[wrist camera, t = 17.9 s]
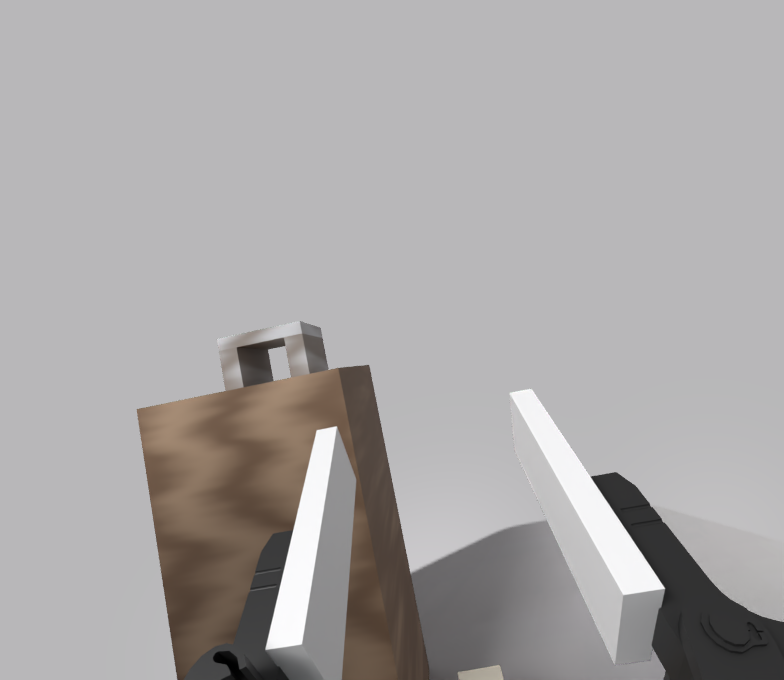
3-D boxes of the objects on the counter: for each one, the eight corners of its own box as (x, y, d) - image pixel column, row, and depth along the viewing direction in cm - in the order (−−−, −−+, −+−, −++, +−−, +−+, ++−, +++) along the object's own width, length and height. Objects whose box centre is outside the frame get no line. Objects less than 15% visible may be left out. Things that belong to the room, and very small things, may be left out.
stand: (209, 893, 22) (127, 345, 25) (291, 687, 36) (233, 350, 39) (434, 869, 21) (325, 301, 24) (429, 667, 35) (360, 323, 38)
